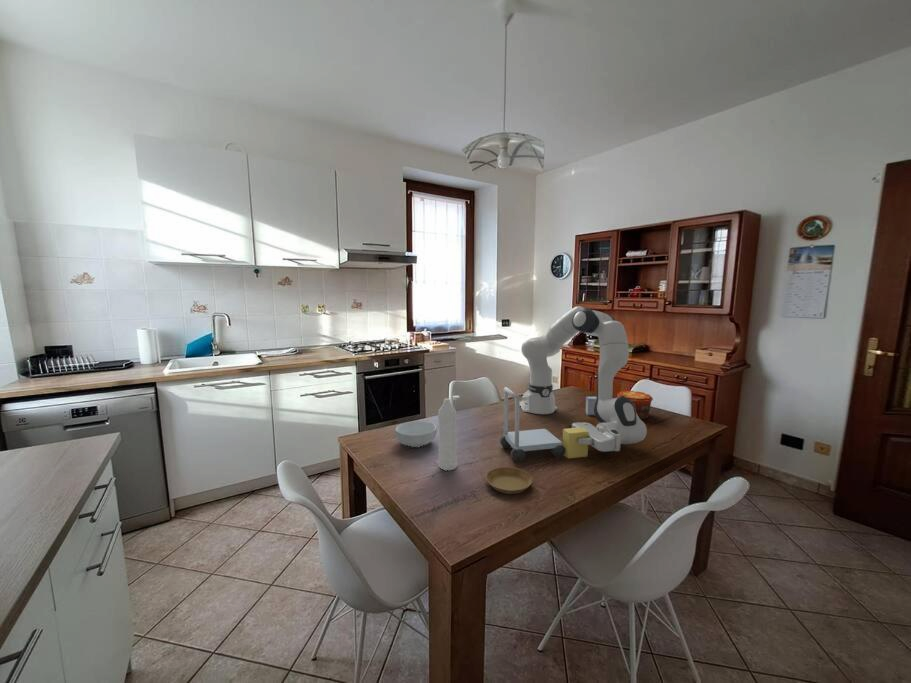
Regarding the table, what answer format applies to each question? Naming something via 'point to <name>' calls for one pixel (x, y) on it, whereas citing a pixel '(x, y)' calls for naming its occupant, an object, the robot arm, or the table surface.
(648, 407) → the food container
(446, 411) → the water bottle
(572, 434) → the yellow rectangular block
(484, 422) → the table surface
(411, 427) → the cereal bowl
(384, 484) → the table surface
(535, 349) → the robot arm
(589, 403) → the medicine box
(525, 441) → the trolley
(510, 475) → the plant saucer
